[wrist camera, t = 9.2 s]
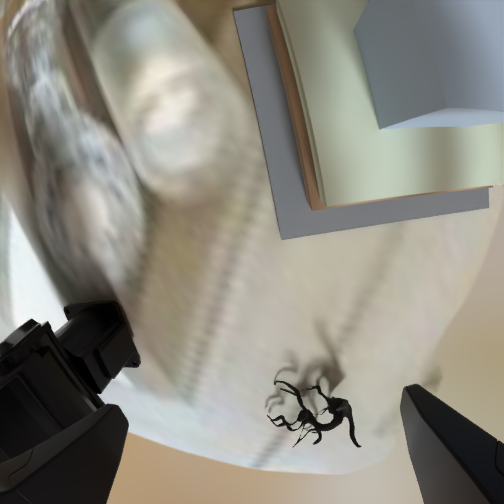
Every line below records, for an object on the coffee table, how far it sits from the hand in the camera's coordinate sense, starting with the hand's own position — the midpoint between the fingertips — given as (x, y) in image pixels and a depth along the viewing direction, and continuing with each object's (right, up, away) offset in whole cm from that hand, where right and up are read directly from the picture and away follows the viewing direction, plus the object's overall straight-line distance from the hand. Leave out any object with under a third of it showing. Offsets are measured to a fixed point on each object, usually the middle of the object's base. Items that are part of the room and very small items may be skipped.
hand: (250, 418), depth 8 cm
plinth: (+8, +15, +8) cm, 19 cm away
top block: (+8, +13, +3) cm, 15 cm away
